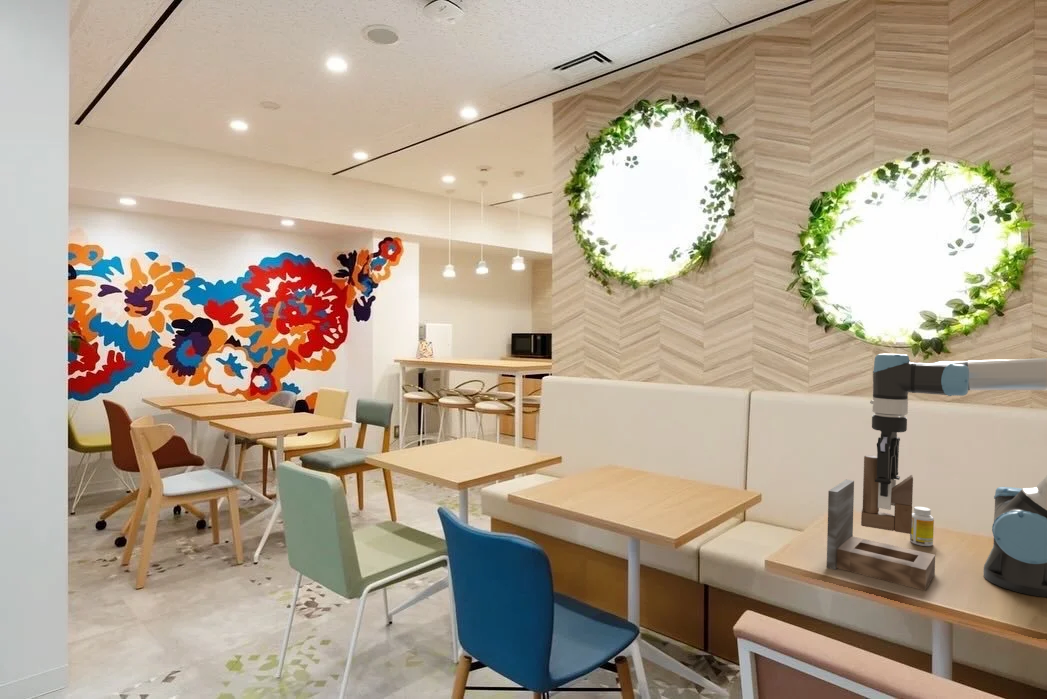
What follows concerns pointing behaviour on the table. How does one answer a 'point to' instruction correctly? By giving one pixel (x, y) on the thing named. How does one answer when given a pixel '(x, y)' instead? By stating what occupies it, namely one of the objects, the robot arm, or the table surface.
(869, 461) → the wooden block
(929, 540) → the supplement bottle
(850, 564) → the post block
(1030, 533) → the robot arm
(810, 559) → the table surface
